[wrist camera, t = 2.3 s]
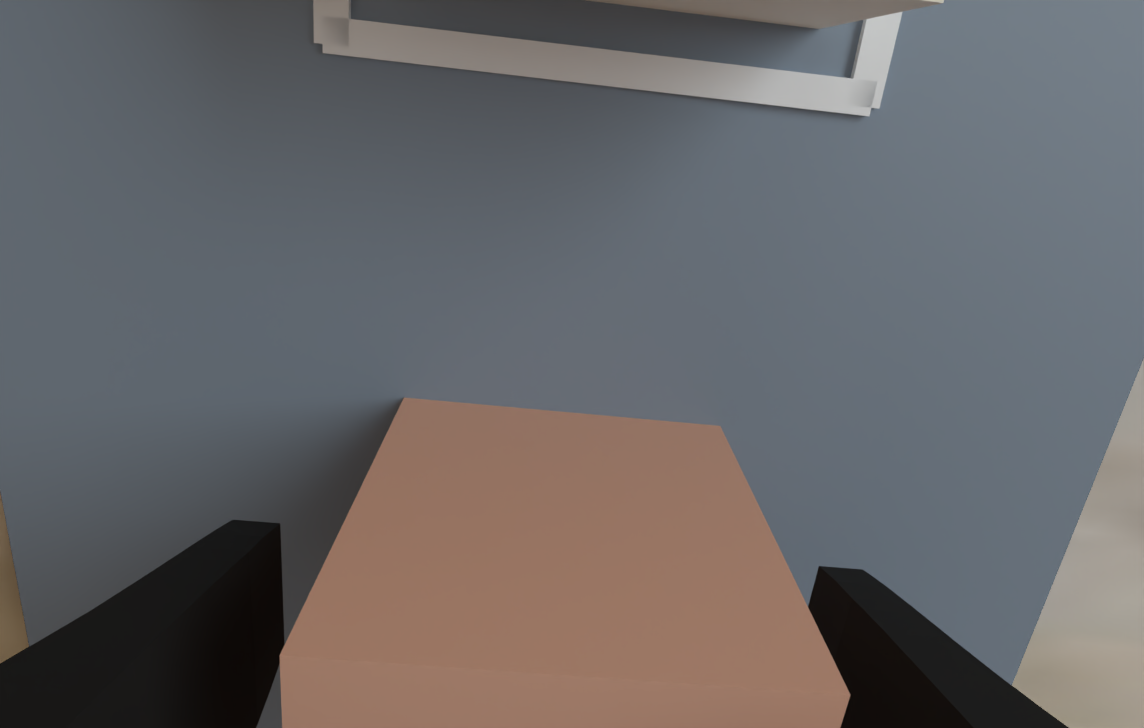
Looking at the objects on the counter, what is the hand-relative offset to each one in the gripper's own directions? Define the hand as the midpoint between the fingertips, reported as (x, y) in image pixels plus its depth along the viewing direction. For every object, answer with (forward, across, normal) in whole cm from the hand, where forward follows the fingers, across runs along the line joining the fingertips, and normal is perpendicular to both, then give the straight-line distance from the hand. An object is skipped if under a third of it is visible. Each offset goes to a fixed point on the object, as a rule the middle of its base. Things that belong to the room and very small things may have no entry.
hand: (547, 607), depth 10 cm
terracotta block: (+1, 0, 0) cm, 1 cm away
